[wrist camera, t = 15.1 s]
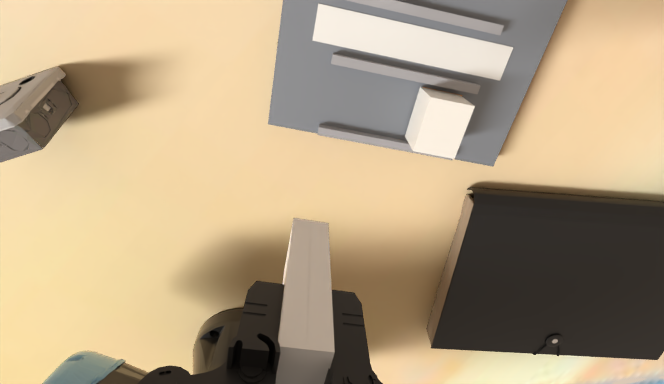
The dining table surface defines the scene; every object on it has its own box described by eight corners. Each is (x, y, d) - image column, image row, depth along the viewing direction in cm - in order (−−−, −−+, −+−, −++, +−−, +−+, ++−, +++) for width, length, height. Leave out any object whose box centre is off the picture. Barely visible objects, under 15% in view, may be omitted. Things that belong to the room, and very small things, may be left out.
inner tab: (442, 143, 37) (454, 158, 34) (404, 136, 37) (413, 151, 33) (459, 95, 35) (475, 106, 31) (420, 86, 34) (430, 97, 31)
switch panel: (485, 159, 40) (497, 170, 38) (270, 118, 38) (266, 127, 35) (577, -52, 31) (600, -57, 29) (300, -124, 29) (298, -137, 26)
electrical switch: (63, 63, 35) (-7, 95, 28) (97, 112, 38) (41, 153, 30) (-17, 91, 37) (-107, 129, 29) (21, 136, 39) (-51, 182, 32)
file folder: (431, 351, 50) (478, 197, 39) (424, 327, 54) (465, 181, 43) (659, 363, 52) (765, 218, 41) (637, 339, 55) (729, 201, 44)
